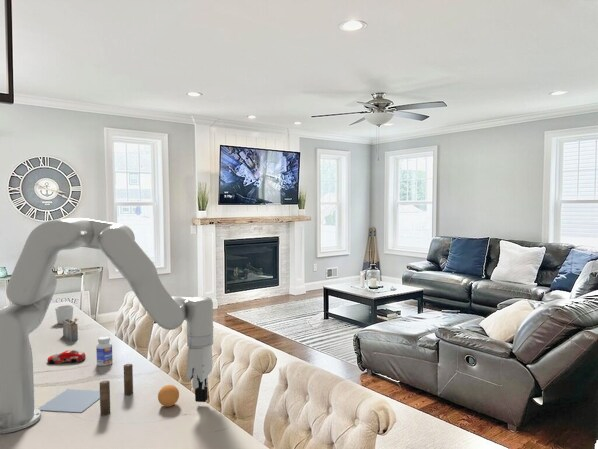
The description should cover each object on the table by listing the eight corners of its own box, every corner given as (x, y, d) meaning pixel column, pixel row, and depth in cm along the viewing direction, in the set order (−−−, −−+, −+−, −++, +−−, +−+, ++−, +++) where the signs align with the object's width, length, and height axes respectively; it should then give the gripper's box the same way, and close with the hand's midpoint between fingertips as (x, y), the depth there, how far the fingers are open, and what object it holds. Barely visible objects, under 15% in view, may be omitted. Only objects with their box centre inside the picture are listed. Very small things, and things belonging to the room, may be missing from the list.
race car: (44, 365, 162) (44, 354, 161) (51, 360, 167) (51, 350, 167) (81, 363, 163) (81, 353, 163) (87, 358, 168) (86, 348, 168)
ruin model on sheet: (79, 340, 191) (78, 318, 191) (71, 342, 189) (70, 320, 189) (70, 335, 199) (69, 314, 199) (63, 336, 197) (62, 315, 197)
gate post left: (107, 415, 122) (106, 384, 122) (98, 415, 122) (97, 384, 122) (112, 411, 125) (111, 380, 124) (103, 411, 125) (102, 380, 124)
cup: (59, 320, 224) (58, 304, 223) (76, 318, 226) (75, 303, 226) (54, 325, 214) (53, 309, 213) (72, 324, 216) (71, 308, 216)
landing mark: (81, 412, 124) (81, 412, 124) (36, 410, 125) (36, 409, 125) (108, 391, 138) (108, 391, 138) (67, 389, 139) (67, 389, 139)
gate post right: (130, 395, 135) (129, 366, 134) (122, 395, 135) (121, 366, 135) (134, 391, 138) (134, 363, 137) (126, 391, 138) (126, 363, 137)
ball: (174, 410, 125) (174, 390, 124) (154, 409, 125) (154, 389, 125) (182, 401, 131) (182, 381, 130) (163, 400, 131) (163, 381, 131)
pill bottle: (106, 366, 159) (105, 340, 159) (93, 365, 160) (92, 339, 160) (115, 361, 164) (115, 336, 164) (103, 360, 165) (102, 335, 165)
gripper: (196, 331, 135) (197, 389, 136) (178, 347, 120) (179, 412, 121) (220, 332, 134) (221, 390, 135) (204, 348, 119) (205, 413, 120)
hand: (201, 400), depth 128 cm, fingers closed
